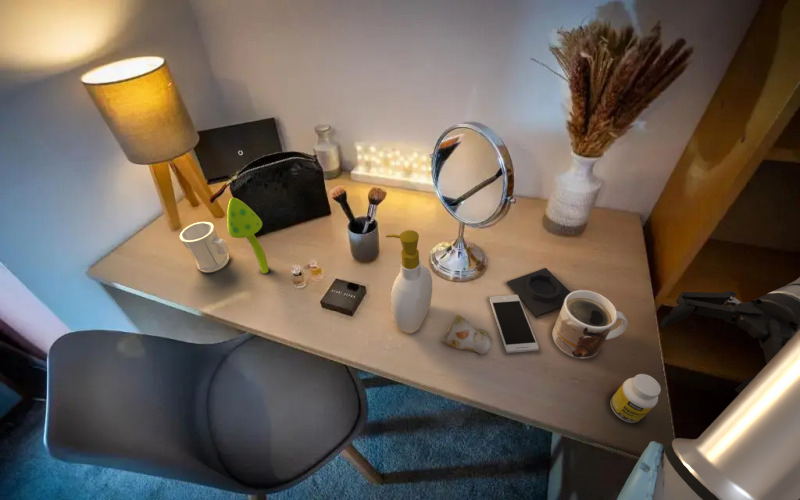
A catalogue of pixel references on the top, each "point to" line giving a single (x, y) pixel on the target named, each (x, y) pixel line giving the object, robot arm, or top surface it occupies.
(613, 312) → the mug
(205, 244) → the cup
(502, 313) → the smartphone
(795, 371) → the robot arm
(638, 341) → the top surface
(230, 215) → the mushroom
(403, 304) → the soap bottle
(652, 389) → the supplement bottle
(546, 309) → the dock pad
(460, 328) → the patterned beanbag
